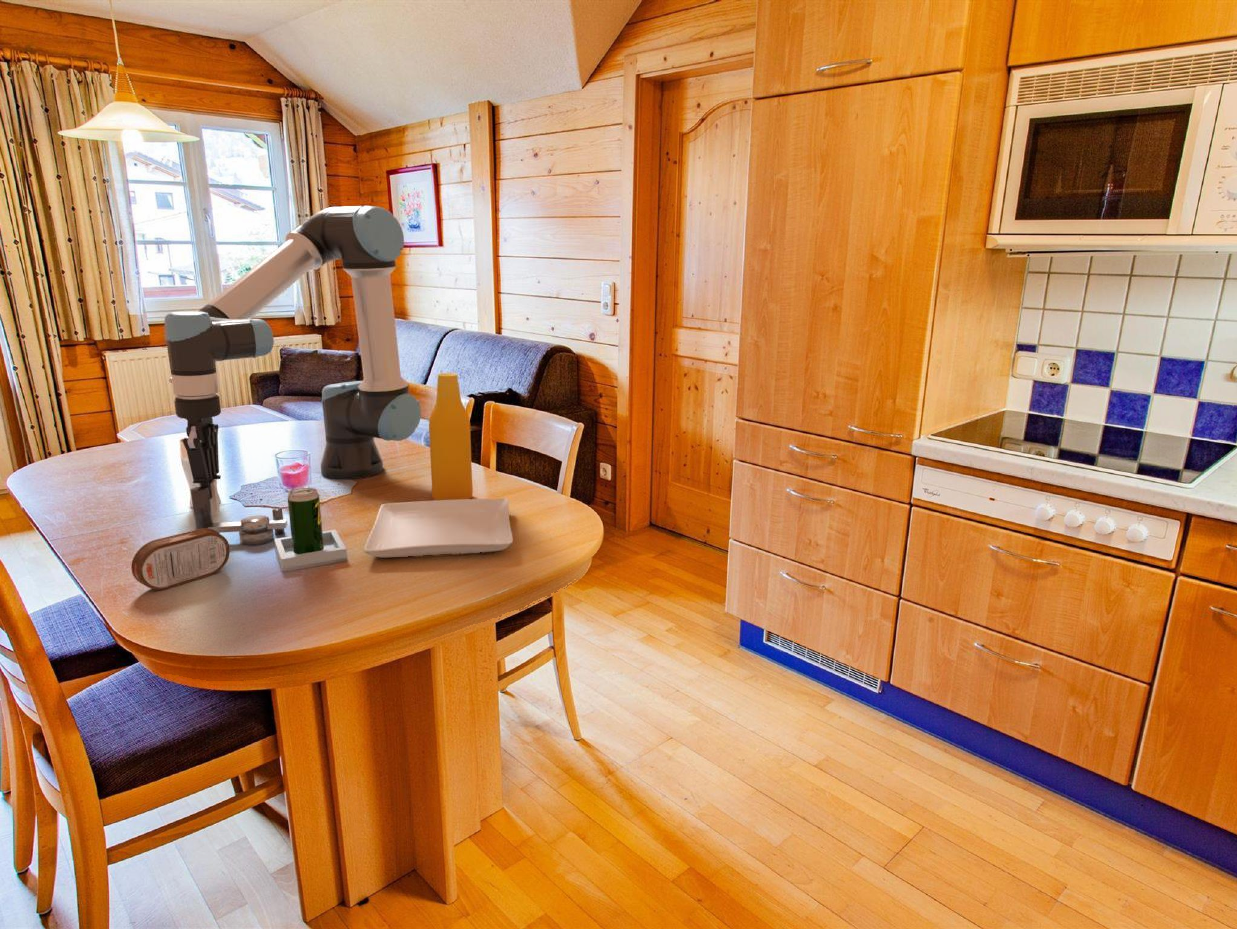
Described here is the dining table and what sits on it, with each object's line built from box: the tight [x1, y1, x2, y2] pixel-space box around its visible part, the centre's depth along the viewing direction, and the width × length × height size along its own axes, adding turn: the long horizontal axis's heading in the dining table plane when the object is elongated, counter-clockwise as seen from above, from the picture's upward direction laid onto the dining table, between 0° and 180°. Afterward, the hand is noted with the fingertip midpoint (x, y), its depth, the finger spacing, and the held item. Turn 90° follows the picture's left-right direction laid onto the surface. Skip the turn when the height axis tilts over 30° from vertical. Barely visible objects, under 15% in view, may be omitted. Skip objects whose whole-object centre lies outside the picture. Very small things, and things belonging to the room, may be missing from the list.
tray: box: [273, 529, 348, 573], centre depth 140 cm, size 11×11×2 cm
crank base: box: [238, 507, 285, 547], centre depth 144 cm, size 19×6×5 cm, turn 120°
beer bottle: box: [428, 372, 474, 501], centre depth 170 cm, size 9×9×29 cm
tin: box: [130, 528, 231, 591], centre depth 127 cm, size 15×3×8 cm, turn 142°
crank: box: [189, 487, 288, 534], centre depth 145 cm, size 16×5×9 cm, turn 104°
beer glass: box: [179, 436, 222, 509], centre depth 164 cm, size 7×7×15 cm
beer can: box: [287, 487, 324, 555], centre depth 138 cm, size 5×5×12 cm
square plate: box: [363, 497, 514, 558], centre depth 151 cm, size 27×27×4 cm
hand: (211, 512), depth 148 cm, fingers closed
